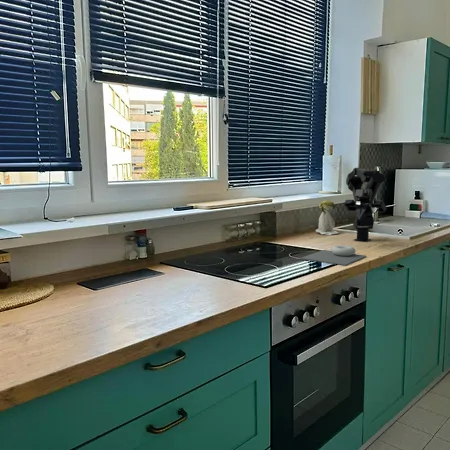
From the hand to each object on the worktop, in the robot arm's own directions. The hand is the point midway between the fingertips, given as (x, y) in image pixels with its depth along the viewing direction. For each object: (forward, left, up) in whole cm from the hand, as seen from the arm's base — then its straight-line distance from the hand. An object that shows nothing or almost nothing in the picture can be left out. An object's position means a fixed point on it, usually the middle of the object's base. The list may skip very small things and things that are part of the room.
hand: (358, 220), depth 204 cm
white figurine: (-29, -31, -14) cm, 45 cm away
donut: (+11, 0, -11) cm, 16 cm away
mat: (+23, 0, -13) cm, 26 cm away
